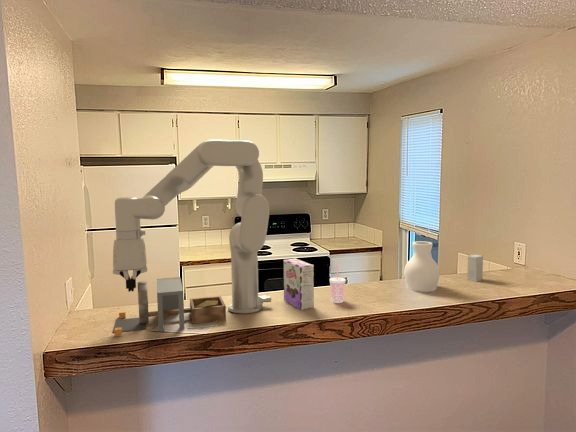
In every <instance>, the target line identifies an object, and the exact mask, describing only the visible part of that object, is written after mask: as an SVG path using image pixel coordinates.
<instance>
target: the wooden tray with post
mask: <svg viewBox="0 0 576 432" xmlns="http://www.w3.org/2000/svg"><path fill="white" fill-rule="evenodd" d="M148 292H149V291H148V281H146V280H141V281H138V282H137V297H138V298H137V299H138V302H137V304H138V318H139V323H146V324H147V323H149V322H150V318H151V317H158V310H155V311H149V297H148ZM205 301H218V304H217V306H212V307H202V308H195V307H196V306H197V305H199V304H201V303H203V302H205ZM226 308H227V307H226V304H225V302H224V300H223V297H222V295H218V296H206V297H197V298H189V307H186V308H184V314H190V313H191V314H190V317H191V322H192V325H196V324H202V323H203V324H204V323H212V322H222V321H227V312H226V310H227V309H226ZM170 315H171V316H172V315H179V309H174V310H163V316H170Z"/></svg>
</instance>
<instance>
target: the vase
mask: <svg viewBox="0 0 576 432" xmlns="http://www.w3.org/2000/svg"><path fill="white" fill-rule="evenodd" d="M411 243H412V244H411V245H412V249H413V255H412V257H411V258H410V259H409V260H408V261H407V263H406V264H405V266H404V270H403V271H404V272H403V273H404V275H403V276H404V279H405V284H406V285H405V286H406V288H407V289H408V290H411V291H414V292H420V293H421V292H422V293H424V292H426V293H429V292H434V291H436V290H437V287H438V285H439V280H440V274H441V273H440V272H441V270H440V266H439V264H438V263H437V262H436V261H435V259H434V258H433V256H432V253H431V251H432V249H433V242H431V241H425V240H424V241H421V240H418V241H417V240H416V241H413V242H411Z"/></svg>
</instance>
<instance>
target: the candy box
mask: <svg viewBox="0 0 576 432" xmlns="http://www.w3.org/2000/svg"><path fill="white" fill-rule="evenodd" d="M282 261H283V301H284V302H287V303H288V304H290V305H291V306H292V307H295V308H297V309H298V310H300V311H301V310H308V309H313V308H314V306H315V305H314V302H315V301H314V298H315V297H314V296H315V295H314V293H315V292H314V289H315V288H314V286H315V285H314V283H315V282H314V281H315V278H314V277H315V274H314V273H315V268H314V267H315V266H314V265H315V264H311V263H308V262H306V261H304V260H301V259H298V258H289V259H283V260H282Z"/></svg>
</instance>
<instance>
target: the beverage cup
mask: <svg viewBox="0 0 576 432" xmlns="http://www.w3.org/2000/svg"><path fill="white" fill-rule="evenodd" d="M329 283H330V285H329V286H330V298H331V301H330V302H331V303H335V304H341V303H343V302H344V298H345V285H346V284H345V283H346V278H344V277H339V266H338V265H337V266H336V277H335V276H334V277H331V278H329Z"/></svg>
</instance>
